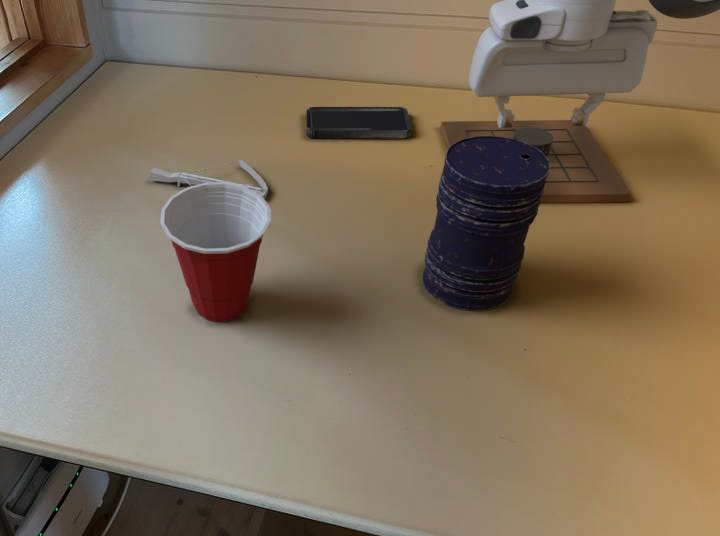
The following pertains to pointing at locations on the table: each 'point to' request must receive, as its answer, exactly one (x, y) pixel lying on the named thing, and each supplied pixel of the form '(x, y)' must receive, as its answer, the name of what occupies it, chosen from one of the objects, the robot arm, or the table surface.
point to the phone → (357, 122)
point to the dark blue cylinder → (483, 220)
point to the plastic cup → (217, 244)
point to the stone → (535, 138)
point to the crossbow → (206, 178)
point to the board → (557, 159)
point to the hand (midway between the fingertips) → (540, 125)
